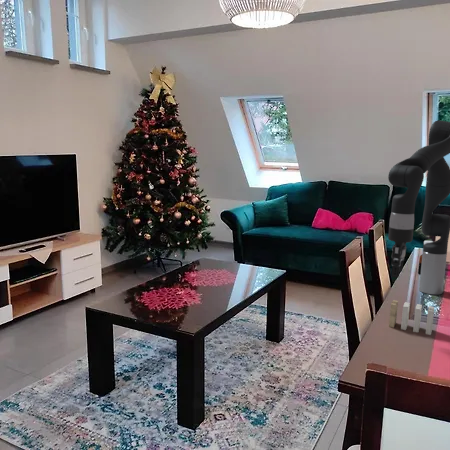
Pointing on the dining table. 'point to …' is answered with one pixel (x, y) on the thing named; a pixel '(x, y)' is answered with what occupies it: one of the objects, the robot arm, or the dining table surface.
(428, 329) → the domino
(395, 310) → the domino
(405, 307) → the domino
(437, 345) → the dining table surface
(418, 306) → the domino
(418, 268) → the battery
